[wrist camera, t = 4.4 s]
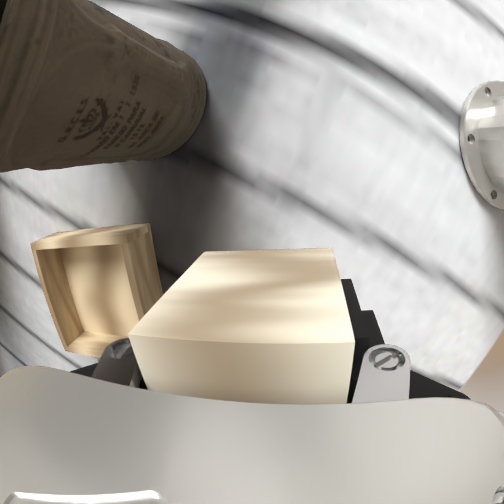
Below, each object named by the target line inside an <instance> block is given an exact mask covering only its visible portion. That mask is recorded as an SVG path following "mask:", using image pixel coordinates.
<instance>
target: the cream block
mask: <svg viewBox="0 0 504 504" xmlns="http://www.w3.org/2000/svg"><path fill="white" fill-rule="evenodd" d="M128 336H129V339H130V342H131V345H132V348H133V351H134V354H135V357H136V360H137V363H138V365H139V368H140V371H141V373H142V376H143V379H144V381H145V384H146V386H147V389H148V390H150V391H156V392H162V393H168V394H174V395H181V396H188V397H196V398H204V399H213V400H223V401H234V402H247V403H264V404H296V405H318V404H346V403H347V397H348V391H349V384H350V378H351V371H352V363H353V355H354V347H355V339H354V334H353V330H352V325H351V321H350V316H349V312H348V308H347V304H346V299H345V295H344V291H343V287H342V283H341V279H340V275H339V272H338V268H337V264H336V260H335V257H334V253H333V249H332V248H308V249H275V250H243V251H211V252H204V253H203V254H202V255H201V256H200V257H199V258H198V259H197V260H196V261H195V262H194V263H193V264H192V265H191V266H190V267H189V268H188V269H187V270H186V271H185V273H184V274H183V275H182V276H181V277H180V278H179V279H178V280H177V281H176V282H175V283H174V284H173V285H172V286H171V287H170V288H169V290H168V291H167V292H166V293H165V294H164V295H163V296H162V297H161V298H160V299H159V300H158V301H157V302H156V304H155V305H154V306H153V307H152V308H151V309H150V310H149V311H148V312H147V313H146V314H145V315H144V317H143V318H142V319H141V320H140V321H139V322H138V323H137V324H136V325H135V326H134V328H133V329H132V330H131V331H130V332H129V333H128Z"/></svg>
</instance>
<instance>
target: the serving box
mask: <svg viewBox="0 0 504 504" xmlns="http://www.w3.org/2000/svg"><path fill="white" fill-rule="evenodd" d="M31 248H32V252H33V256H34V260H35V264H36V268H37V272H38V275H39V279H40V282H41V285H42V289H43V292H44V295H45V298H46V301H47V304H48V307H49V310H50V313H51V316H52V318H53V321H54V324H55V326H56V329H57V332H58V334H59V337H60V339H61V342H62V344H63V346H64V349H65V351H68V352H72V353H77V354H82V355H86V356H92V357H97V358H101V356H102V354H103V352H104V350H105V348H106V347H107V346H108V345H109V344H110V343H112V342H114V341H116V340H119V339H124V338H129V336H128V333H129V332H130V331H131V330H132V329H133V328H134V326H135V325H136V324H137V323H138V322H139V321H140V320H141V319H142V318H143V317H144V315H145V314H146V313H147V312H148V311H149V310H150V309H151V308H152V307H153V306H154V305H155V304H156V302H157V301H158V300H159V299H160V298H161V297H162V296H163V291H162V287H161V282H160V277H159V272H158V267H157V261H156V256H155V250H154V245H153V239H152V233H151V227H150V223H143V224H132V225H121V226H111V227H102V228H92V229H83V230H74V231H66V232H57V233H54V234H52V235H49V236H47V237H45V238H42V239H40V240H38V241H35V242H33V243H31Z"/></svg>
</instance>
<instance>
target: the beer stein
mask: <svg viewBox="0 0 504 504" xmlns="http://www.w3.org/2000/svg"><path fill="white" fill-rule="evenodd" d="M205 103H206V82H205V79H204V76H203V73H202V70H201V69H200V67H199V66H198V64H197V63H196V61H195V60H194V59H193V58H191V57H190V56H189V55H187V54H186V53H185V52H184V51H181V50H179V49H177V48H176V47H174V46H173V45H171V44H170V43H169V42H167V41H164V40H161V39H157V38H154V37H153V36H151V35H149V34H148V33H146V32H144V31H142V30H141V29H139V28H137V27H135V26H133V25H132V24H130V23H128V22H126V21H125V20H123V19H121V18H119V17H118V16H116V15H114V14H113V13H111V12H109V11H107V10H106V9H104V8H102V7H100V6H98V5H96V4H95V3H93V2H91V1H89V0H0V172H8V171H12V170H18V169H24V168H30V169H34V170H41V171H42V170H50V169H63V168H69V167H75V166H84V165H93V164H101V163H114V162H125V161H129V160H155V159H158V158H161V157H163V156H166V155H169V154H170V153H172V152H173V151H175V150H177V149H178V148H180V147H181V146H182V145H183V144H184V143H185V142H186V141H187V140H188V139H189V138H190V137H191V136H192V134H193V133H194V131H195V130H196V128H197V127H198V124H199V122H200V120H201V118H202V116H203V112H204V108H205Z"/></svg>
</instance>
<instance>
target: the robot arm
mask: <svg viewBox="0 0 504 504" xmlns="http://www.w3.org/2000/svg"><path fill="white" fill-rule="evenodd" d="M459 132H460V146H461V152H462V157H463V161H464V164H465V168H466V170H467V173H468V175H469V177H470V180H471V182H472V183H473V185H474V187H475V188H476V190H477V191H478V192H479V194H480V195H481V196H482V197H483V198H484V199H485V200H486V201H487V202H488V203H490V204H491V205H493V206H495V207H497V208H499V209H502V210H504V82H502V81H489V82H486V83H483V84H480V85H479V86H477V87H476V88H474V89H473V90H472V92H471V93H470V94H469V95H468V97H467V99H466V101H465V103H464V105H463V109H462V113H461V117H460V127H459ZM341 283H342V287H343V291H344V295H345V299H346V304H347V308H348V312H349V316H350V321H351V325H352V330H353V334H354V339H355V347H354V355H353V363H352V371H351V378H350V384H349V391H348V397H347V403H346V404H318V405H296V404H264V403H247V402H234V401H223V400H213V399H204V398H196V397H188V396H181V395H174V394H168V393H162V392H156V391H150V390H148V389H147V386H146V384H145V381H144V379H143V376H142V373H141V371H140V368H139V365H138V363H137V360H136V357H135V354H134V351H133V348H132V345H131V342H130V339H129V338H124V339H119V340H116V341H114V342H112V343H110V344H109V345H108V346H107V347H106V348H105V350H104V352H103V354H102V356H101V358H100V360H99V362H98V363H96V364H93V365H89V366H86V367H83V368H80V369H77V370H74V371H71V372H67V371H64V370H60V369H56V368H51V367H45V366H22V367H17V368H14V369H11V370H10V371H8V372H7V373H5V374H4V375H3V376H2V377H0V504H504V413H502V412H499V411H496V410H494V409H493V408H492V407H490V406H488V405H487V404H484V403H481V402H478V401H473V400H471V399H470V398H469V397H468V396H466V395H464V394H463V393H461V392H458V391H456V390H454V389H451V388H449V387H447V386H445V385H442V384H440V383H438V382H436V381H433V380H431V379H429V378H427V377H424V376H422V375H420V374H418V373H416V372H413V371H411V370H410V357H409V355H408V353H407V352H406V351H405V350H403V349H402V348H400V347H398V346H395V345H389V344H385V343H384V340H383V337H382V334H381V331H380V329H379V326H378V323H377V320H376V318H375V315H374V312H373V310H367V311H361V309H360V305H359V302H358V299H357V296H356V293H355V290H354V287H353V284H352V281H351V279H341Z"/></svg>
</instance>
